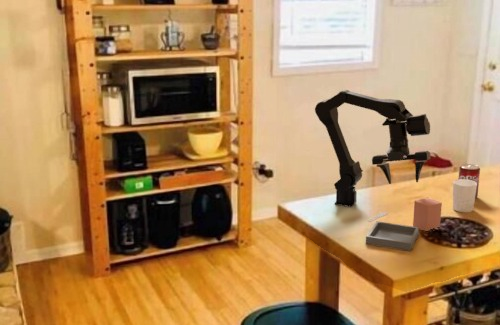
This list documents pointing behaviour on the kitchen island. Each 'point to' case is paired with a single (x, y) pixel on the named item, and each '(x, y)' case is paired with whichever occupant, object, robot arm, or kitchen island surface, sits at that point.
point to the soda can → (470, 174)
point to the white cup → (464, 195)
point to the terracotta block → (427, 214)
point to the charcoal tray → (392, 236)
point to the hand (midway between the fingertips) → (403, 182)
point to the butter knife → (378, 216)
